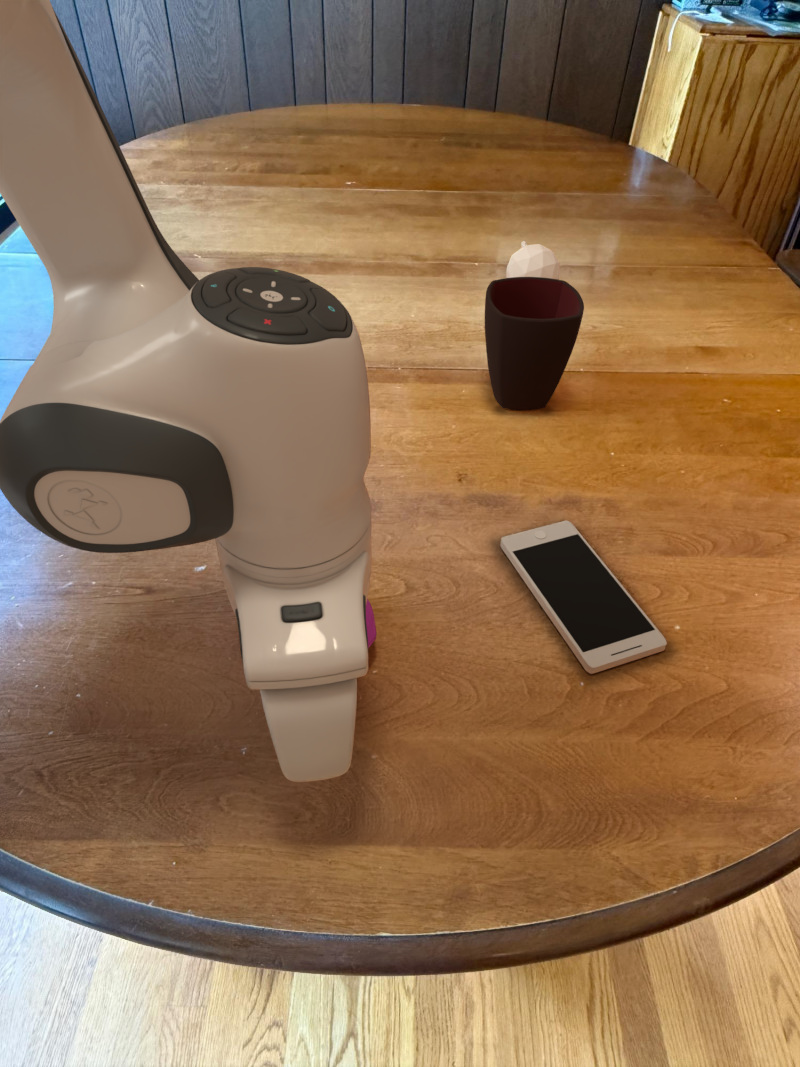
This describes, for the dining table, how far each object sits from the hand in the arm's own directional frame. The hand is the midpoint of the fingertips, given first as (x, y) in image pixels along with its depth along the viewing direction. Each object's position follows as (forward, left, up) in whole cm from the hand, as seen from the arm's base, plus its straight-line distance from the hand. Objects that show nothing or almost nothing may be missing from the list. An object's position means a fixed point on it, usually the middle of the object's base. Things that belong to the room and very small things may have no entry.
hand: (310, 691), depth 55 cm
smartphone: (+23, +8, -3) cm, 25 cm away
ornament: (+35, +62, -3) cm, 71 cm away
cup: (+27, +40, -3) cm, 49 cm away
